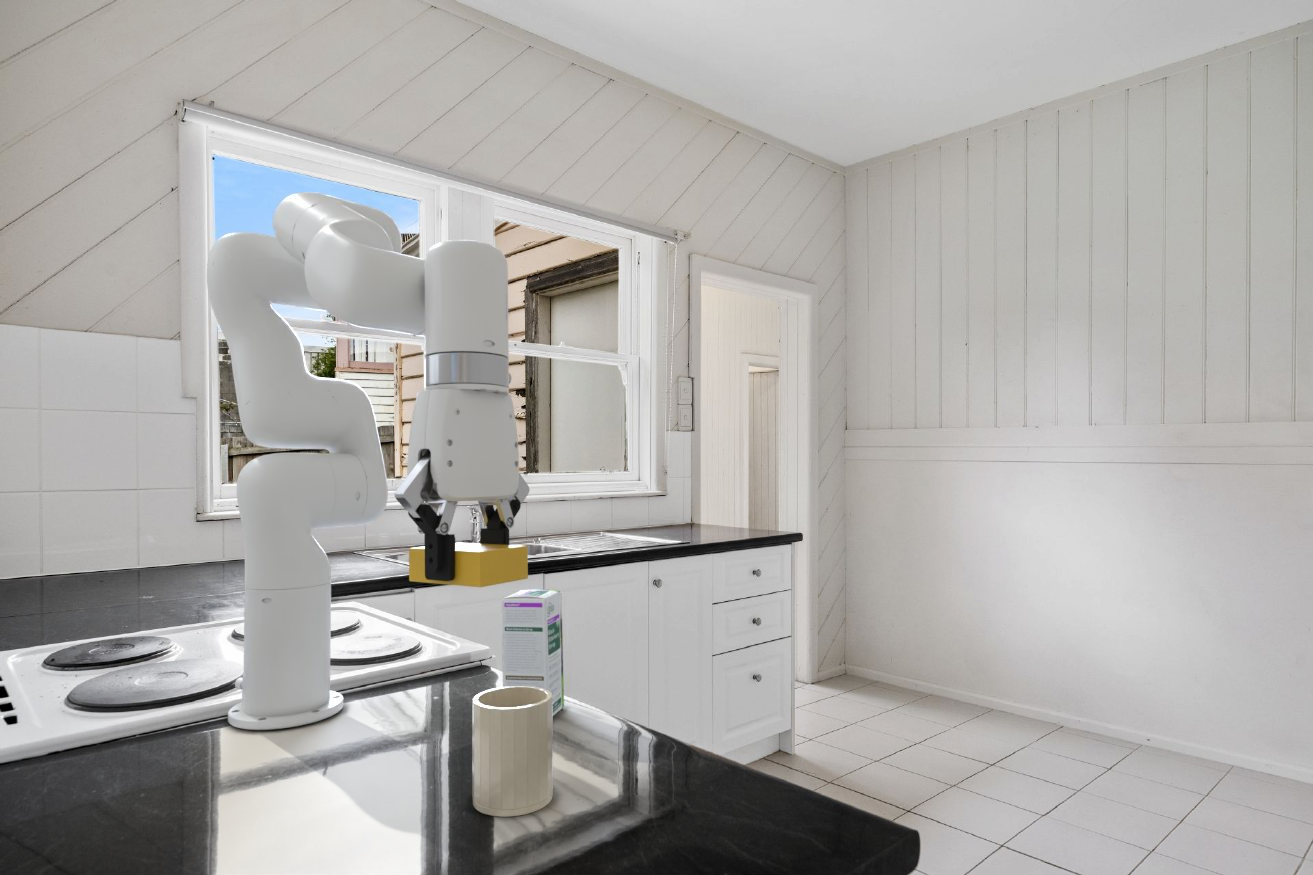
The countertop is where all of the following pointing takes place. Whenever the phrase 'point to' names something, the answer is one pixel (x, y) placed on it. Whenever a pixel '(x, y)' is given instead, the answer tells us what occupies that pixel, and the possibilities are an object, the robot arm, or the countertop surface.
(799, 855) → the countertop surface
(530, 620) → the syrup box
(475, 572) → the block
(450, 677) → the countertop surface
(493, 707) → the cup
